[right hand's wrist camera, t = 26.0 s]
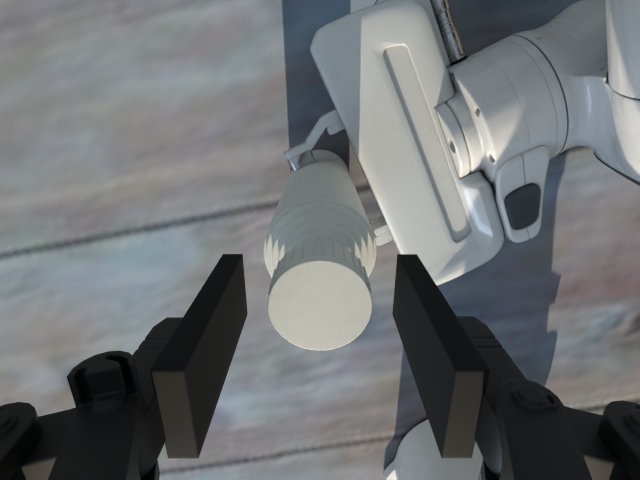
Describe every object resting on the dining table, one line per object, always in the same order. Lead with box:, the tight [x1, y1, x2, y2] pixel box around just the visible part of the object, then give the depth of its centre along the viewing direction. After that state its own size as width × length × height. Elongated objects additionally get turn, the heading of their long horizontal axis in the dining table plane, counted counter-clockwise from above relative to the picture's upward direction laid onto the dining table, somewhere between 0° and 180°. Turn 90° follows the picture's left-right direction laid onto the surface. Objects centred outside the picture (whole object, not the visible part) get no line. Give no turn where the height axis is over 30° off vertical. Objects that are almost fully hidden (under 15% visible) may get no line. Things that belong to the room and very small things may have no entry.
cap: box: [268, 240, 372, 350], centre depth 14 cm, size 4×4×2 cm
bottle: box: [264, 150, 376, 277], centre depth 24 cm, size 6×6×22 cm
